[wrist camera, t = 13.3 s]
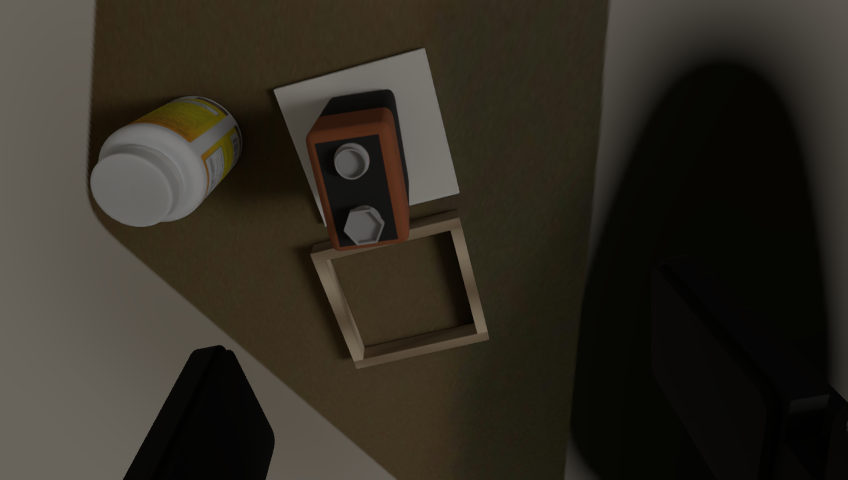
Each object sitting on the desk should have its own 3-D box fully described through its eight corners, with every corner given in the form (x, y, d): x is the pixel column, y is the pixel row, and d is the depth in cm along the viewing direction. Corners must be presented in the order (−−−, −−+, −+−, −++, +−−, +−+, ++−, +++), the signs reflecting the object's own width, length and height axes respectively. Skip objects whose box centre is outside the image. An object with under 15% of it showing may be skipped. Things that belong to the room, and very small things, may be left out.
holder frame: (313, 244, 39) (310, 254, 37) (457, 209, 38) (459, 217, 36) (358, 356, 44) (356, 368, 42) (486, 328, 43) (489, 339, 41)
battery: (349, 193, 36) (330, 263, 27) (327, 96, 33) (297, 139, 24) (410, 184, 36) (411, 252, 27) (393, 86, 33) (388, 125, 24)
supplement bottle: (143, 113, 34) (46, 162, 25) (216, 80, 33) (143, 118, 24) (191, 186, 36) (118, 256, 27) (260, 157, 36) (209, 218, 26)
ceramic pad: (275, 88, 33) (273, 89, 33) (424, 47, 33) (424, 48, 32) (326, 222, 38) (325, 226, 37) (458, 189, 37) (459, 192, 36)
